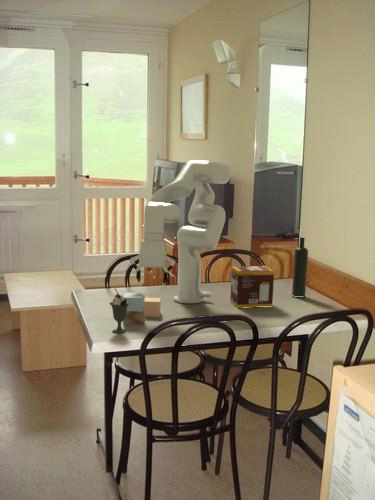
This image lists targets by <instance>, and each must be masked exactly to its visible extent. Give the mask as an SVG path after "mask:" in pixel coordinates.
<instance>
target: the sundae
mask: <svg viewBox="0 0 375 500" xmlns="http://www.w3.org/2000/svg"><path fill="white" fill-rule="evenodd" d="M113 290H115V292H116V294H115V295H114V298H113V300H112V301H111V302H109V305H110V306H111V308H112V314H113V315H112V316H113V319H114V320H115V321H116V322H117V327H116V329H115V328H114V329H113V330H112V331H111V332H112V333H113V334H117V335H121V334H125V333H127V330H126V329H123V327H122V323H123V320H124V319H125V317H126V311H127V306H128V305H129V303H128V302H127V300H126V299H125V298H124V296H123V295H120V294H119V293H118V290H117V288H114V289H113Z"/></svg>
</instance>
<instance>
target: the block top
mask: <svg viewBox="0 0 375 500" xmlns="http://www.w3.org/2000/svg"><path fill="white" fill-rule="evenodd" d="M123 297H124V298H125V299H126V300H127V302H128V303H129V305H128V306H127V311H141V312H143V309H144V300H145V293H141V292H125V293H124V296H123Z"/></svg>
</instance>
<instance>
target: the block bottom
mask: <svg viewBox="0 0 375 500" xmlns="http://www.w3.org/2000/svg"><path fill="white" fill-rule="evenodd" d="M144 320H145V317H144V309H143V312H141V311H126V317H125V319H124V320H123V321H122V323H123V325H140V326H141V325H142V326H143V324H144Z"/></svg>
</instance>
